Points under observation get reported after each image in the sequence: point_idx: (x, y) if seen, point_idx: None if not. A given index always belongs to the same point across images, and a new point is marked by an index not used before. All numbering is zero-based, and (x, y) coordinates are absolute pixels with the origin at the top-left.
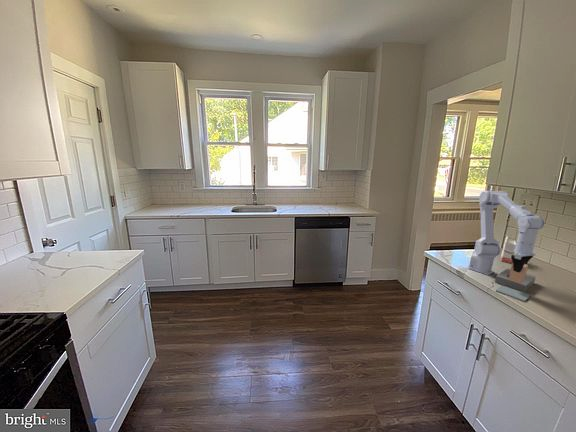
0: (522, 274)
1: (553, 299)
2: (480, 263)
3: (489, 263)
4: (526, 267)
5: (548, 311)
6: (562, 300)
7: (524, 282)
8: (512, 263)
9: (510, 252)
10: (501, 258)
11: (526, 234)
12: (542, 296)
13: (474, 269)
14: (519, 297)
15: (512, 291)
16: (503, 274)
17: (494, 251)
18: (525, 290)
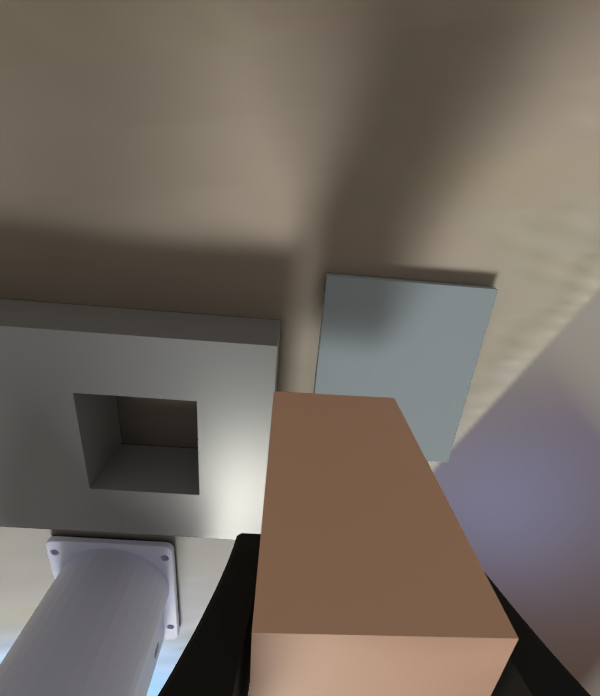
0: (437, 493)
1: (205, 103)
2: (142, 673)
3: (101, 656)
4: (375, 594)
5: (557, 107)
6: (143, 24)
7: (193, 368)
8: None
9: None
10: None
11: None
12: (226, 194)
13: (168, 614)
14: (462, 329)
15: (373, 385)
16: (164, 515)
17: None
18: (243, 320)
